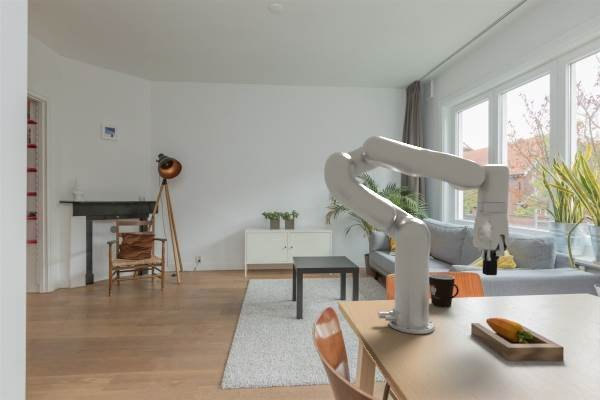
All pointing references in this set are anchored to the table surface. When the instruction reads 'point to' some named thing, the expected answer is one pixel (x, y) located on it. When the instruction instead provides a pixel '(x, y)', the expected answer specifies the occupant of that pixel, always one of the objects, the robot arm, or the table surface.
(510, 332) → the carrot
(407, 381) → the table surface
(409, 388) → the table surface
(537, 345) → the rest
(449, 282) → the coffee mug
